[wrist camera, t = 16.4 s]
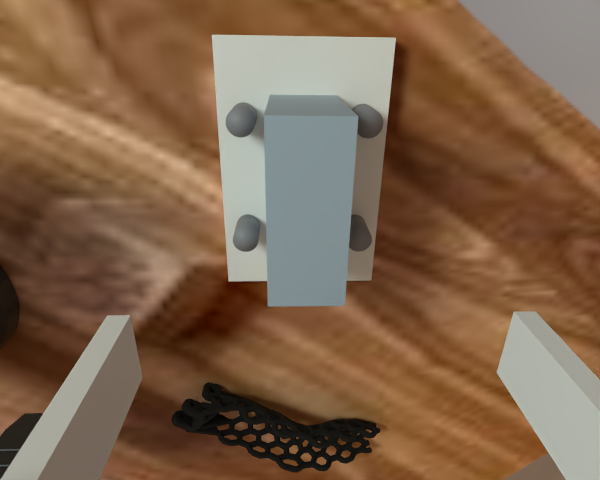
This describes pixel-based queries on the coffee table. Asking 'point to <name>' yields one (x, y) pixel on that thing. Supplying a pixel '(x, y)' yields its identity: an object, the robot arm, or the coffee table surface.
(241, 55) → the pegboard
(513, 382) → the robot arm
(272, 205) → the slate block
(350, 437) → the decorative element
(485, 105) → the coffee table surface
